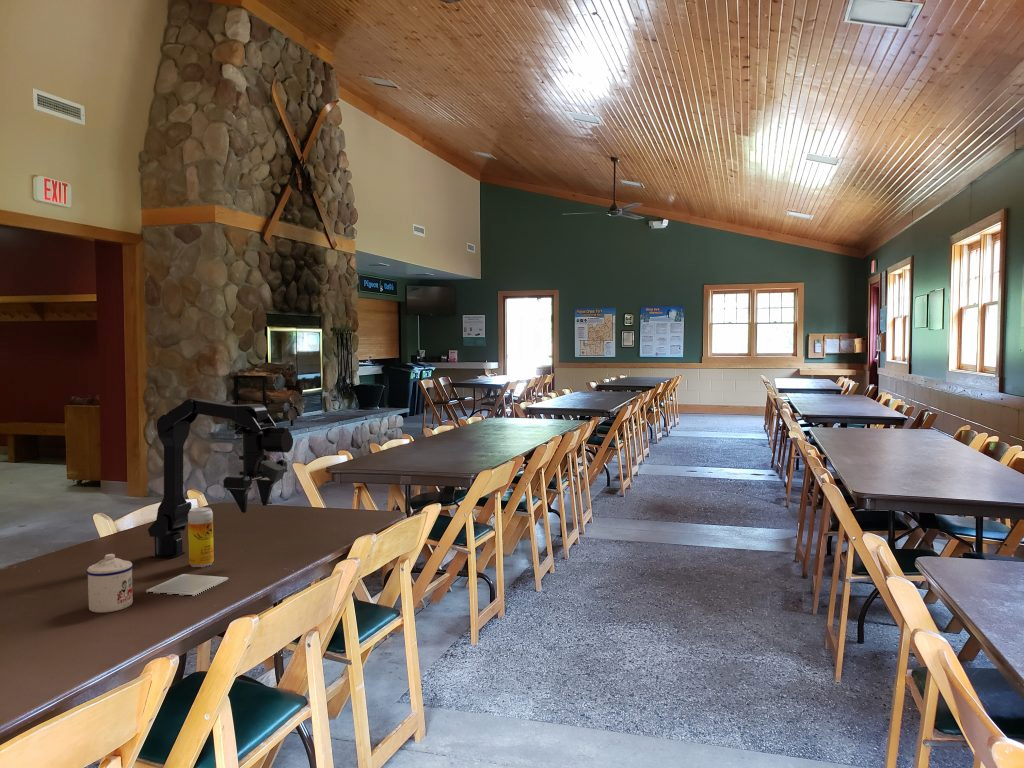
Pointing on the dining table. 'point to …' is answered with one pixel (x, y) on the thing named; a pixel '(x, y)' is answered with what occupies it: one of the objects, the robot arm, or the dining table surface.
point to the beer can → (200, 537)
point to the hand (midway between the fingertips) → (254, 509)
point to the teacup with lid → (110, 584)
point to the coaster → (187, 584)
